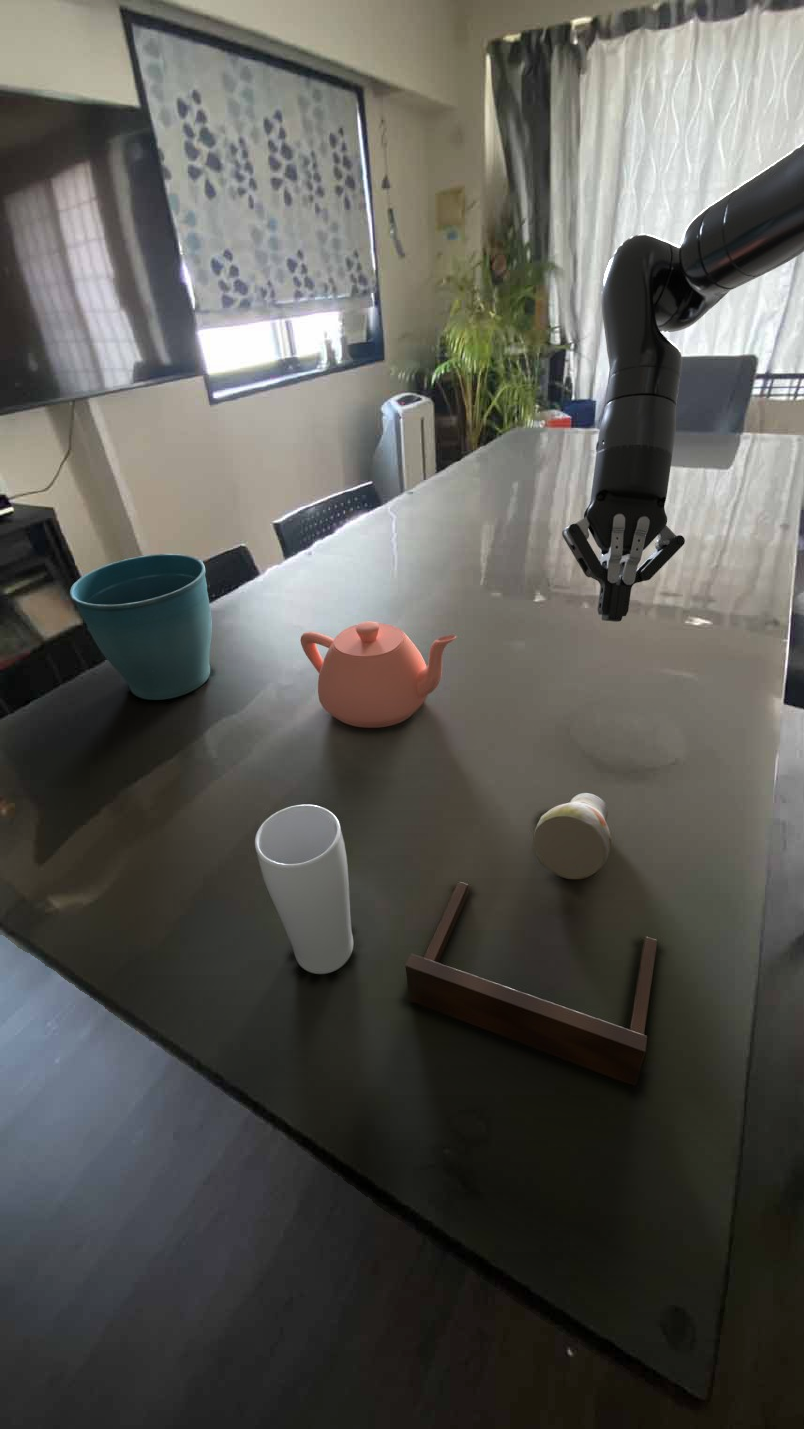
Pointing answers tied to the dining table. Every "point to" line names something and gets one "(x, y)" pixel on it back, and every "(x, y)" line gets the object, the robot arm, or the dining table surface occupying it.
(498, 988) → the walnut rack
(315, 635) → the teapot
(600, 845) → the mug
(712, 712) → the dining table surface
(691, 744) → the dining table surface
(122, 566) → the flower pot
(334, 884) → the drinking glass
